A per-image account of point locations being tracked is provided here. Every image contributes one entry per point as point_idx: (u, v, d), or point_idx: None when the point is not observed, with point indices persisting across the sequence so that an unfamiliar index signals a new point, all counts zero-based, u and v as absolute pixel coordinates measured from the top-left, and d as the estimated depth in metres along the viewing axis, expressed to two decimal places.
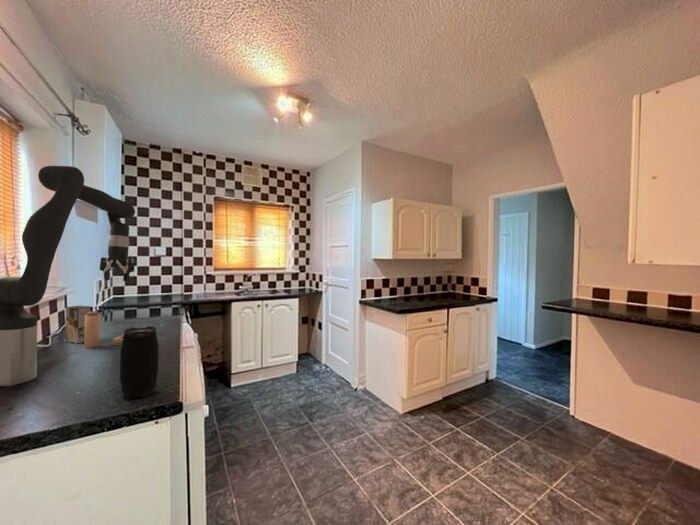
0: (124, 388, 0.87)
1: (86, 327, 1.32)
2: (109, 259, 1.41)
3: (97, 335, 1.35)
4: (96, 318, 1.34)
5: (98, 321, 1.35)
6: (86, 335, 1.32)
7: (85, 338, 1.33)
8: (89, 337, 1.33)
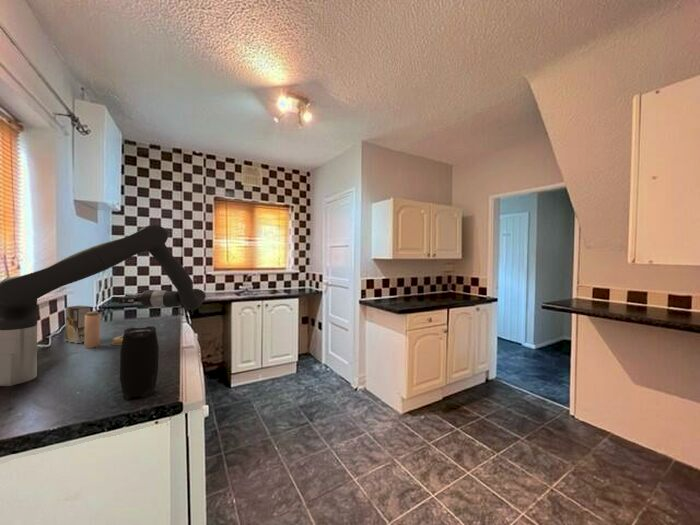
0: (124, 388, 0.87)
1: (86, 327, 1.32)
2: None
3: (97, 335, 1.35)
4: (96, 318, 1.34)
5: (98, 321, 1.35)
6: (86, 335, 1.32)
7: (85, 338, 1.33)
8: (89, 337, 1.33)
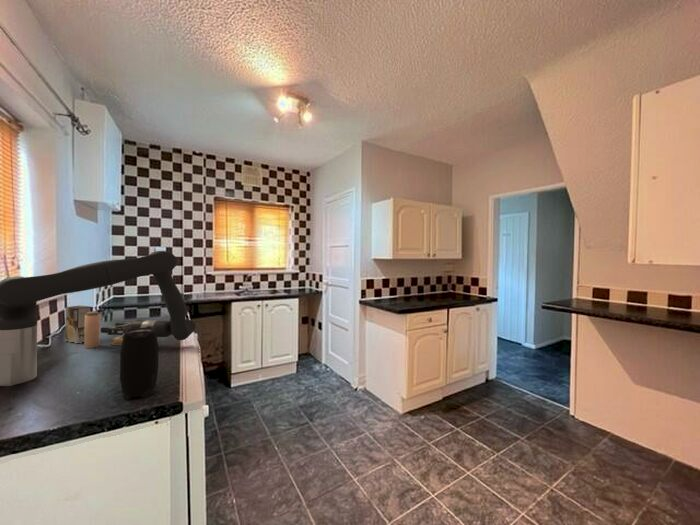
0: (124, 388, 0.87)
1: (86, 327, 1.32)
2: None
3: (97, 335, 1.35)
4: (96, 318, 1.34)
5: (98, 321, 1.35)
6: (86, 335, 1.32)
7: (85, 338, 1.33)
8: (89, 337, 1.33)
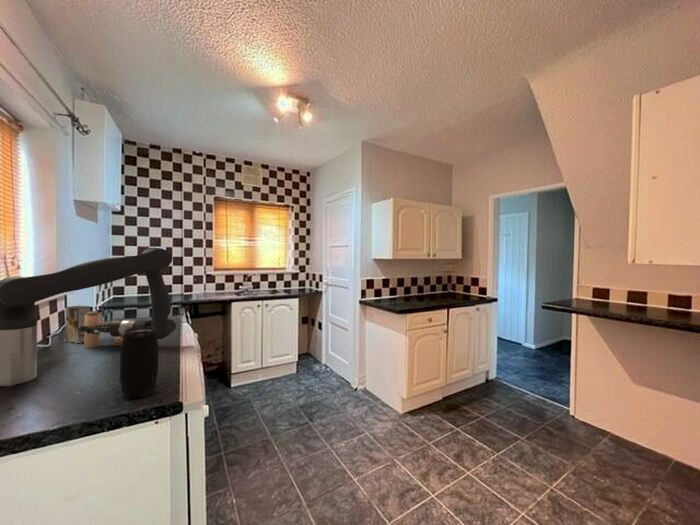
0: (124, 388, 0.87)
1: None
2: None
3: (97, 335, 1.35)
4: (96, 318, 1.34)
5: (98, 321, 1.35)
6: (86, 335, 1.32)
7: (85, 338, 1.33)
8: (89, 337, 1.33)
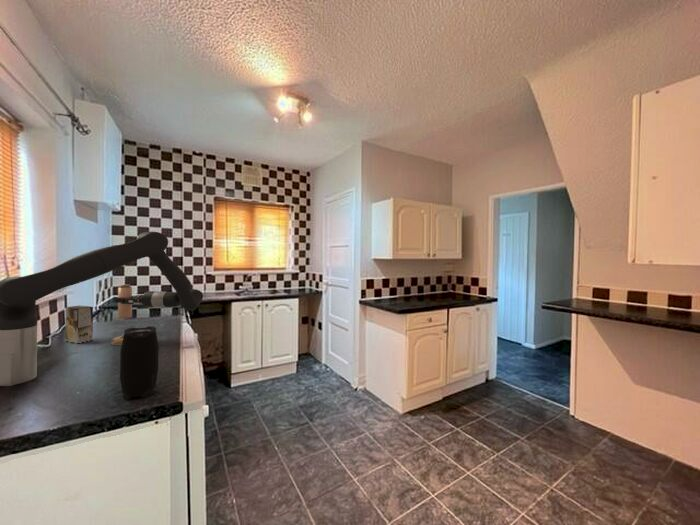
0: (124, 388, 0.87)
1: None
2: None
3: (130, 306, 1.42)
4: (128, 290, 1.42)
5: (130, 293, 1.43)
6: (120, 306, 1.40)
7: (119, 309, 1.40)
8: (123, 308, 1.40)
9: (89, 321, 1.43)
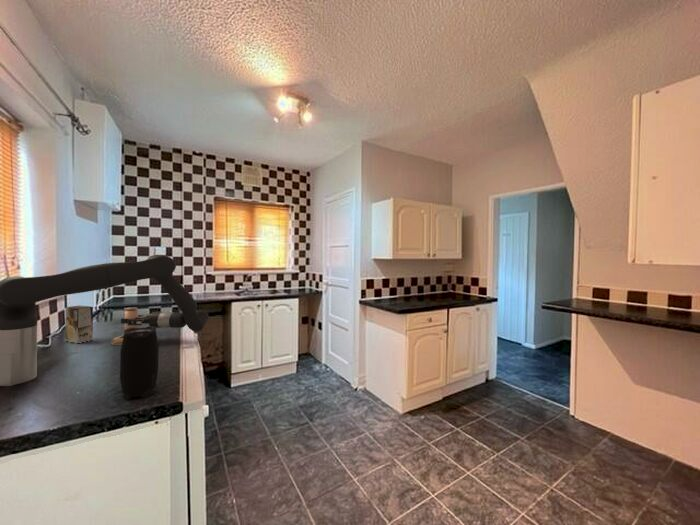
0: (124, 388, 0.87)
1: None
2: None
3: None
4: (134, 313, 1.43)
5: (136, 316, 1.45)
6: None
7: None
8: None
9: (89, 321, 1.43)
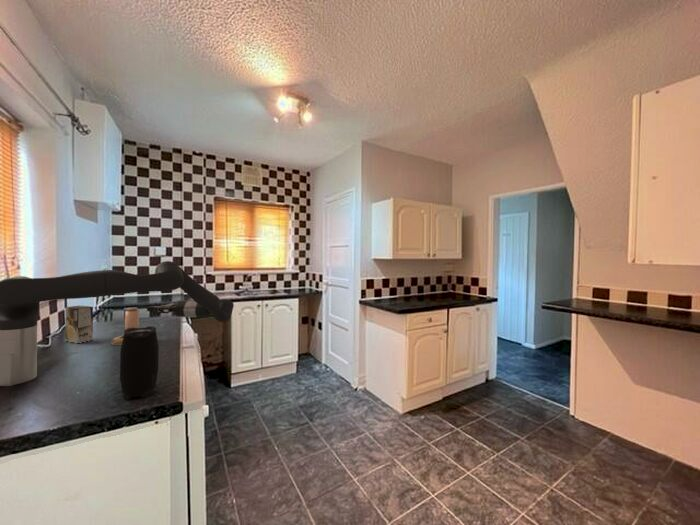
0: (124, 388, 0.87)
1: (127, 322, 1.42)
2: None
3: None
4: (135, 313, 1.43)
5: (137, 316, 1.44)
6: None
7: None
8: None
9: (89, 321, 1.43)
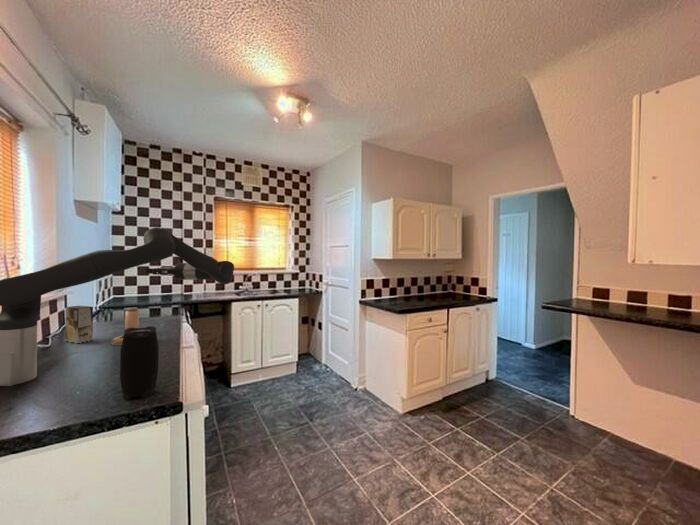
0: (124, 388, 0.87)
1: (127, 322, 1.42)
2: None
3: None
4: (135, 313, 1.43)
5: (137, 316, 1.44)
6: None
7: None
8: None
9: (89, 321, 1.43)
